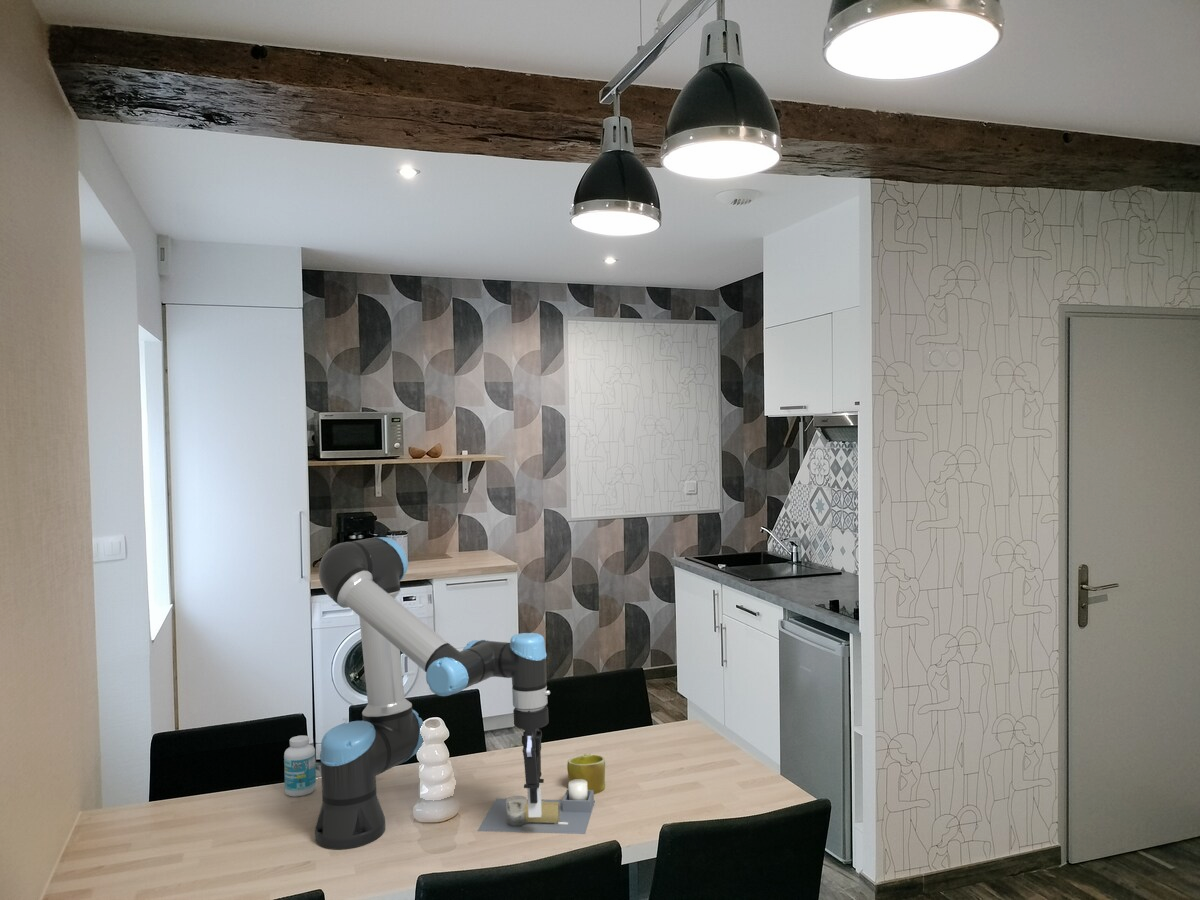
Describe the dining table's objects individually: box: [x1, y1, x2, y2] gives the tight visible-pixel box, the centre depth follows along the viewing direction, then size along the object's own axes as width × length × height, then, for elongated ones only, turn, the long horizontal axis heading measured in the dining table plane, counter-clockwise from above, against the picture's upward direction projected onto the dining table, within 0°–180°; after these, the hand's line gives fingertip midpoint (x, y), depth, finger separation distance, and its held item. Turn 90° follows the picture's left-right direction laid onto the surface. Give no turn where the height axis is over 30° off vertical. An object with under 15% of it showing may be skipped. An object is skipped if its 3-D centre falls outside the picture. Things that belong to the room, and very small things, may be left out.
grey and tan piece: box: [506, 795, 560, 826], centre depth 186 cm, size 12×5×5 cm, turn 83°
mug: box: [566, 753, 606, 795], centre depth 207 cm, size 12×10×10 cm
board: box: [477, 789, 596, 835], centre depth 190 cm, size 24×17×4 cm
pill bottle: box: [283, 735, 317, 798], centre depth 211 cm, size 8×7×14 cm
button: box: [568, 779, 588, 800], centre depth 195 cm, size 4×4×4 cm
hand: (535, 815), depth 180 cm, fingers closed
